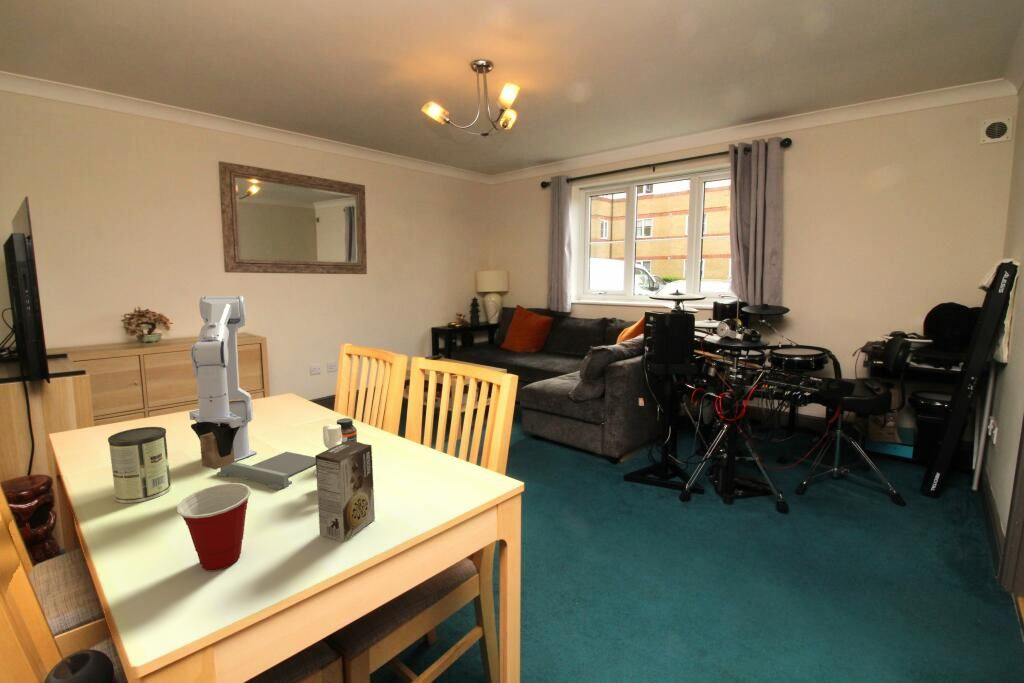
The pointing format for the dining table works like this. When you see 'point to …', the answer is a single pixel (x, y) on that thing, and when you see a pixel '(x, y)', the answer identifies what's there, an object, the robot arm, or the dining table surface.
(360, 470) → the coffee box
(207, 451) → the walnut block
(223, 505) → the plastic cup
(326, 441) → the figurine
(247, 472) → the low wall
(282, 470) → the mat
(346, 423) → the supplement bottle
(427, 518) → the dining table surface
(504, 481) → the dining table surface
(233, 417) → the robot arm
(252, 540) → the dining table surface
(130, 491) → the coffee can
